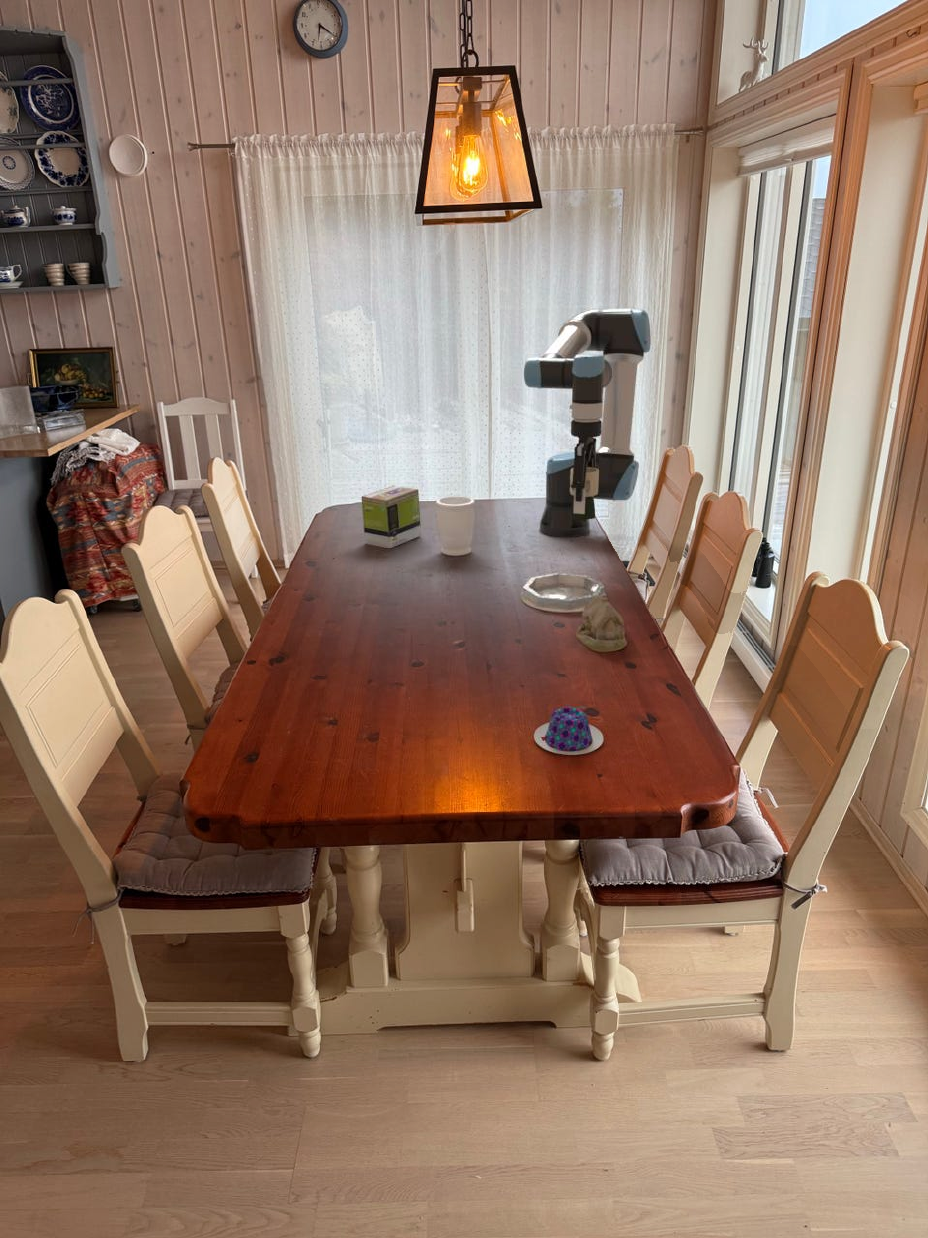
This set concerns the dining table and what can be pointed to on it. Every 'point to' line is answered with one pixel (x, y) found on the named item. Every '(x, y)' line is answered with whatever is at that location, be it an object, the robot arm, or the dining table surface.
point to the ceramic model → (601, 626)
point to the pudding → (568, 733)
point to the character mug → (587, 494)
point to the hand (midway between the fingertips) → (583, 508)
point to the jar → (455, 524)
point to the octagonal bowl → (561, 592)
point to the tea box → (391, 516)
